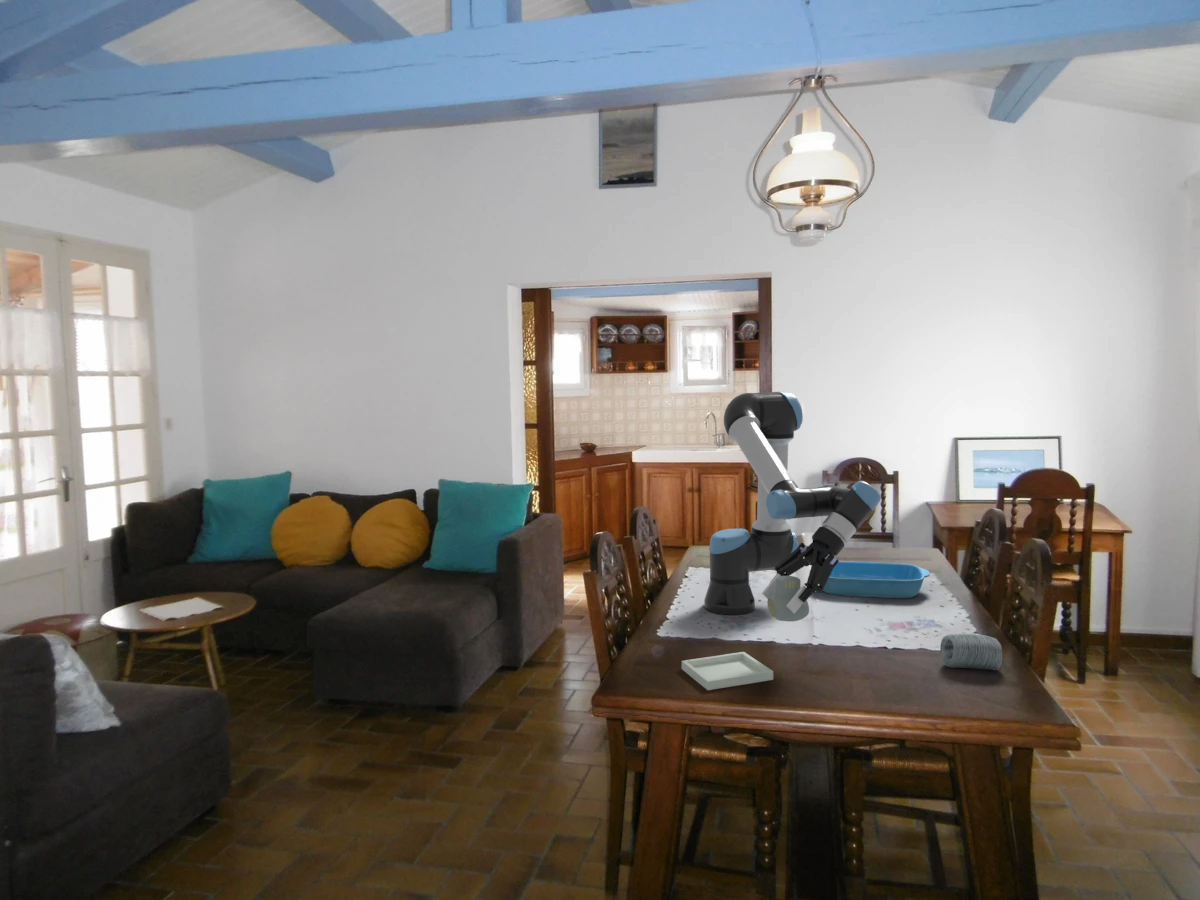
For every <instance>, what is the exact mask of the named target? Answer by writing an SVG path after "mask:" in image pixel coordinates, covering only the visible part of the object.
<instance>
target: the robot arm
mask: <svg viewBox="0 0 1200 900" xmlns="http://www.w3.org/2000/svg"><path fill="white" fill-rule="evenodd" d="M803 415H804V414H803V409H802V406H801V403H800V401H799V399H798V398H797V397H796V396H795V394H793V393H791V392H787V391H785V392H784V391H765V392H746V393H741V394H739V395H737V396H735V397H734V398H733V399H732V400H731V401H730V402H729V403H728V404H727V406H726V408H725V410H724V415H723V425H724V430H725V432H726V433H727V435H728V438H730V440H731V441H732V442H734V443H736V444H737V445H738V446H739V448H740V450H741V452H742V454H743V455H744V456H745V458H746V460H747V461H748V463H749V464H750V466H751V468H752V470H753V471H754V473H755V475H756V477H757V503H756V504H757V506H756V507H757V509H756V511H757V512H756V513H757V514H756V520H755V521H754V522H753V523H752V524H751V532H749V530H747V529H746V528H741V527H739V528H738V527H737V528H727V529H721V530H719V531H716V532H714V533H713V534H712V535H711V537H710V539H709V549H708V550H709V585H708V588H707V590H706V594H705V597H704V602H703V607H704V609H705V610H707V612H708V611H709V612H711V613H715V614H719V615H744V614H749V613H751V612H754V611H755V609H756V600H755V597H754V594H753V591H752V587H751V584H750V573H751V572H761V571H763V572H764V571H771V570H772V571H773V570H774V571H775V572H776V574H775V576H773V578H772V579H771V580H770V582H769V583H768V585H767V586H765V588H764V590H763V591H762V592H761V594H762V595H763V596H764V597H765V598H766V599H767V600H768V598H769V597H770V596H772V595H773V594H776V579H777V578H778V577H780V576H792V575H793V574H794V573H797V572H798V571H799V570H801V569H803V568H804V567H811V570H810V571H809V574H808V577H807V581H806V582H804V584H803V585H802V586H800V589H799V591H798V592H797V593H796V594H795V596H794V597H793V598H792V599H791V600H790V602H789V603H788V604H787V605H786V606H787V607H788V608H789V609H790V610H791V611H792V612H793V613H794V614H795V613H796V611H797V610H798V609H799V608H800V606H801V605H802V604H803V603H804V602H805V601H806V600H807V601H808V599H809V598H810V596H811V595H812V594H815V593H819V594H820V593H822V591H823V588H824V586H825V584H826V582H827V580H828V578H829V576H830V574H831V572H832V570H833V568H834V567H835V566H836V564H837V563H838V562H839V561H840V560H839V559H838V558H837V557H836V556H838V555H839V554H840V552H841V551H842V550H843V548H845V544H847V543H848V542H849V541H850V540H851V538H852V537H853V535H854V534H855V533H856V532H857V531H858V530H859V529H860V527H861V526H862V525H863V524H864V522H865V521H866V520H867V519H868V518H869V517H870V515H871V514H872V513H873V512H875V509H876V508H877V506H878V505H879V503H880V502H881V499H882V496H881V494H880V492H879V491H878V490H877V489H876V488H875V487H874V486H872V485H871V484H870V483H868V482H866V481H864V480H858V481H857V482H855V483H853V485H851V487H850V488H845V487H844V488H843V487H840V486H836V485H834V484H829V485H828V484H822V485H819V486H818V487H810V488H809V487H808V488H807V487H806V488H800V487H799V486H798V485H797V483H796V482H795V480H794V479H793V477H792V476H791V474H790V473H789V472H788V468H789V467H788V464H789V463H788V462H789V457H788V456H789V443H790V442H791V441H792V440H793V439H795V438H794V436H795V434H794V433H795V432H796V431H798V430H799V429H800V428H801V425H803V421H804V420H803V419H804V417H803ZM815 517H826V518H825V519H824V520H823V522H822V524H821V526H819V527H818V528H817V530H816V531H814V533H813V534H812V536H811V539H812V542H810V544H809V545H806V544H805V543H804V542H801V543H800V544H799V541H798V540H797V539H798V537H797V535H796V533H795V532H794V531H793V530H791V529H792V526H791V525H790V524H789V523H788V522H787V520H792V519H802V518H803V519H804V518H815Z"/></svg>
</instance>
